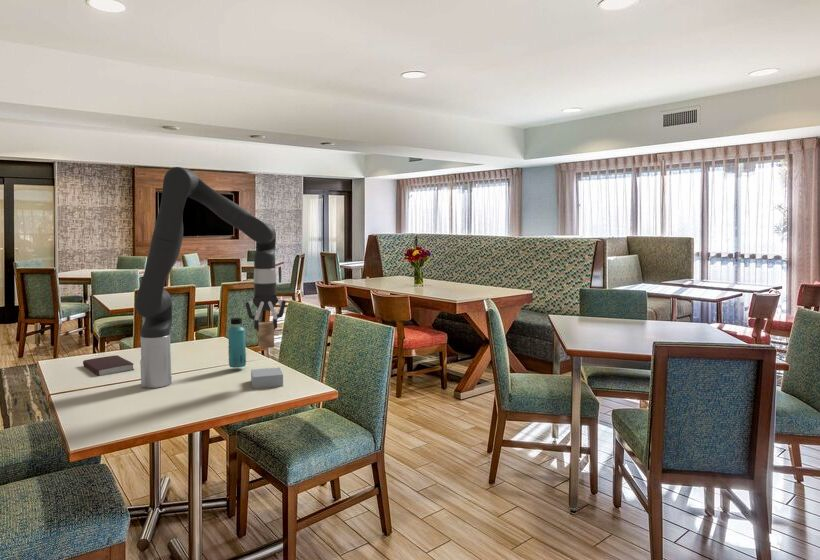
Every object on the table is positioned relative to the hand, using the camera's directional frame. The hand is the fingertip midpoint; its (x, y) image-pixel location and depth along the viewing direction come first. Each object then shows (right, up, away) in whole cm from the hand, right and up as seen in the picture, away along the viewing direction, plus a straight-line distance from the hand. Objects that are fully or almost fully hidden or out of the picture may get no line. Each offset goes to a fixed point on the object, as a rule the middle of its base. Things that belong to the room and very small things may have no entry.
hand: (265, 329), depth 188 cm
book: (-66, -17, +19) cm, 70 cm away
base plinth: (0, -19, +2) cm, 19 cm away
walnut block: (0, -6, +1) cm, 6 cm away
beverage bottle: (-16, -17, +20) cm, 31 cm away
